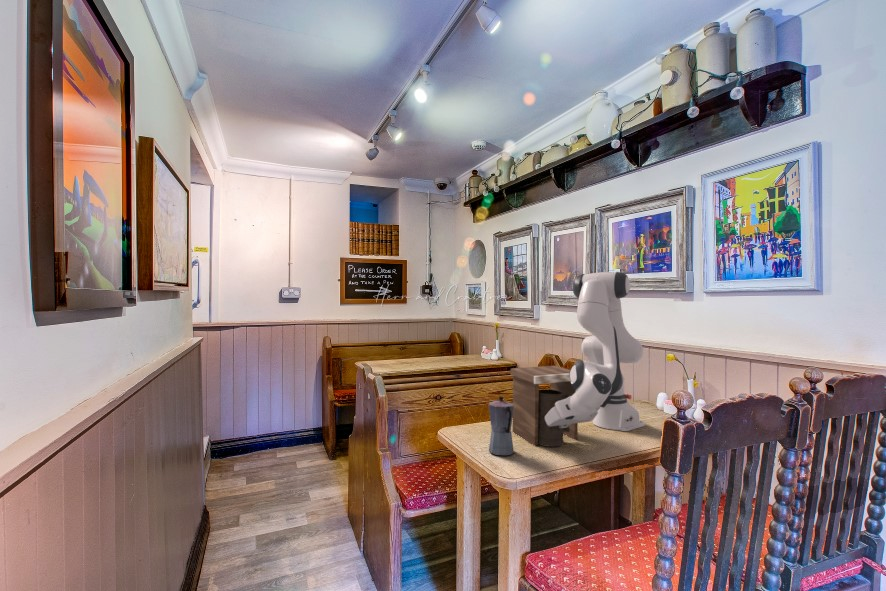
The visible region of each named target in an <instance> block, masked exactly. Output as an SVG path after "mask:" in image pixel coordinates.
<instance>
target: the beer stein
mask: <svg viewBox="0 0 886 591" xmlns="http://www.w3.org/2000/svg"><path fill="white" fill-rule="evenodd" d="M568 397H570V395H567V394H566V395H565V396H562V392H560V391H557V390H550V389H539V400H538V445H540V446H545V447H560V446H563V445H564V435H563V432H569V430H570V429H569V427H567V428H559V426H551V427H549V426H548V425H547V423H546V421H545V416H546V414H547V413H548V412H549V411H550V410H551V409H552V408H553V407H555V403H556V402H557V401H560V400H563V399H566V398H568Z"/></svg>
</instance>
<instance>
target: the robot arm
mask: <svg viewBox="0 0 886 591" xmlns="http://www.w3.org/2000/svg"><path fill="white" fill-rule="evenodd" d="M571 286H572V291H573V295H574V297H576V298H578V301H577V311H576V319H577V322H578V323H579V324H580V326H581V327H582V328H583V329H584V330H585V331H587V332H589V333H590V334H592V335H590V336H586V337H585V338H584V339H583V340H582V342H581V346H580V348H581V353H582V354H583V356H584V357H585V358H586V359H588V360H584V359H578V360H577V361H575V362H574V363H573V365H572V366H571V367H570V368H569V370H570V372H569V379H570V381H571V384H572V386H573V388H574V390H576V392H575V393H574V394H573V395H572V396H570V397H568V398H566V399H563V400H560V401H557V402H556V403H555V407H553V408H552V409H551V410H550V411H549V412H548V413H547V414H546V416H545V421H546V423H547V425H548V426H549V427H551V426H559V428H567V427H568V426H569V425H571V424H574V423H578V424H582V423H587V422H591V421H592V423H593V425H595V426H597V427H599V428H603V429H607V430H613V431H615V430H616V431H621V432H629V431H633V430H636V429H640V428H643V427H645V426H646V423H645V422H644V421H643V420H640V413H639V411H638V410H637V408H635V407H634V406H632V405H631V404H630V403H629V402H628V400H632V394H628V393H626V394H625V377H624V375H623V374H622V370H621V366H620V365H621V364H635V363H638V362H639V361H641V359H642V358H643V355H644V348H643V345H642V343H641V341H639V340H638V339H636V338H635V336H634V337H633V336H632V335H631V333H630V332H629V331H628V330H627V327H626V326H625V323H624V318H623V312H622V310H623V309H622V303H621V299H623V298H626V297H627V296H628V295H629V292H630V289H631V282H630V279H629V277H628V275H627V274H626V273H625V272H622V271H621V272H620V271H616V272H611V271H603V272H602V271H600V272H592V273H586V274H585V273H582V274H581V273H580V274H578V275H576V276H575V277H573V281H572V285H571ZM627 399H628V400H627Z"/></svg>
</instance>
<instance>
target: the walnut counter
mask: <svg viewBox="0 0 886 591" xmlns="http://www.w3.org/2000/svg"><path fill="white" fill-rule="evenodd" d="M569 372H570V368H569V369H568V368H565V367H561V366H557V365H543V366H530V367H515V368H510V376H512V403H513V406H514V408H513V416H512V433H513V432H514V433H515V434H514V433H513V434H514V435H516V434H517V435H516V436H518V435H519V436H520V437H519V436H518V437H519V438H521V437H522V438H523V440H524V439H525V440H524V441H526V442H527V441H528V442H527V443H529V442H530V443H529V444H531V445H532V444H533V445H532V446H534V445H537V446H539V444H538V400H539V390H540V389H539V385H540V384H541V385H542V384H549V385H550V388H549V390H557V391H560V392H562V396H565V395H566V394H567V395H570V396H572V395H573V394H574V393H575V392H576V390H574V388H573V386H572V384H571V381H570V379H569ZM578 425H579V423H574V424H571V425H569V426H568V427H569V429H570V430H569V432H563V434H565V435H567V436H568V438H569V437H570V438H569V439H571V438H572V439H571V440H573V439H577V440H578ZM565 435H564V436H565ZM567 436H566V437H567ZM522 438H521V439H522Z"/></svg>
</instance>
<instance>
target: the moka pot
mask: <svg viewBox="0 0 886 591" xmlns="http://www.w3.org/2000/svg"><path fill="white" fill-rule="evenodd" d="M513 408H514V406H513V402H508V401H504V396H498V400H493V401H489V403H488V411H489V419H490V420H489V422H490V426H491V427H490V428H491V431H490V432H491V433H490V439H489V440H490V441H489V447H488V452H490V453H491V454H493V455H497V456H511V455H512V454H514V451H515V450H514V444H513V435H512V434H513V433H512V431H511V430H512V426H513Z"/></svg>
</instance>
